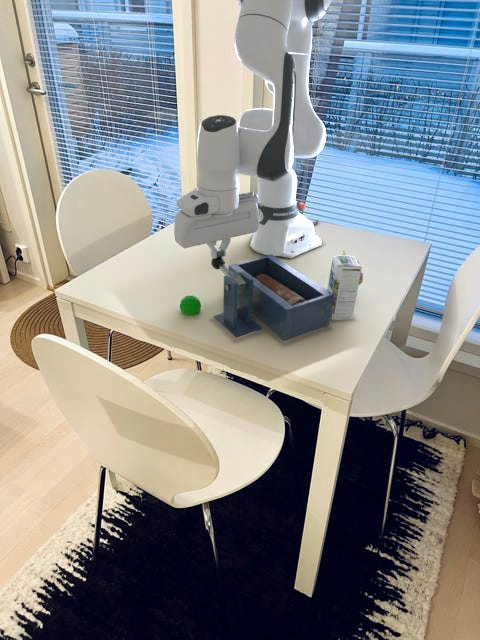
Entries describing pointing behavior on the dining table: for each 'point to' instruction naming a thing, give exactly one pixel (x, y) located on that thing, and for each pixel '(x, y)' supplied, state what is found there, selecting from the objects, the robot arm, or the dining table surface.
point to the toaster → (277, 310)
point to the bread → (280, 290)
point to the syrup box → (344, 286)
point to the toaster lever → (228, 273)
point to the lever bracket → (238, 318)
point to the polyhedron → (190, 305)
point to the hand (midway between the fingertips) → (218, 256)
